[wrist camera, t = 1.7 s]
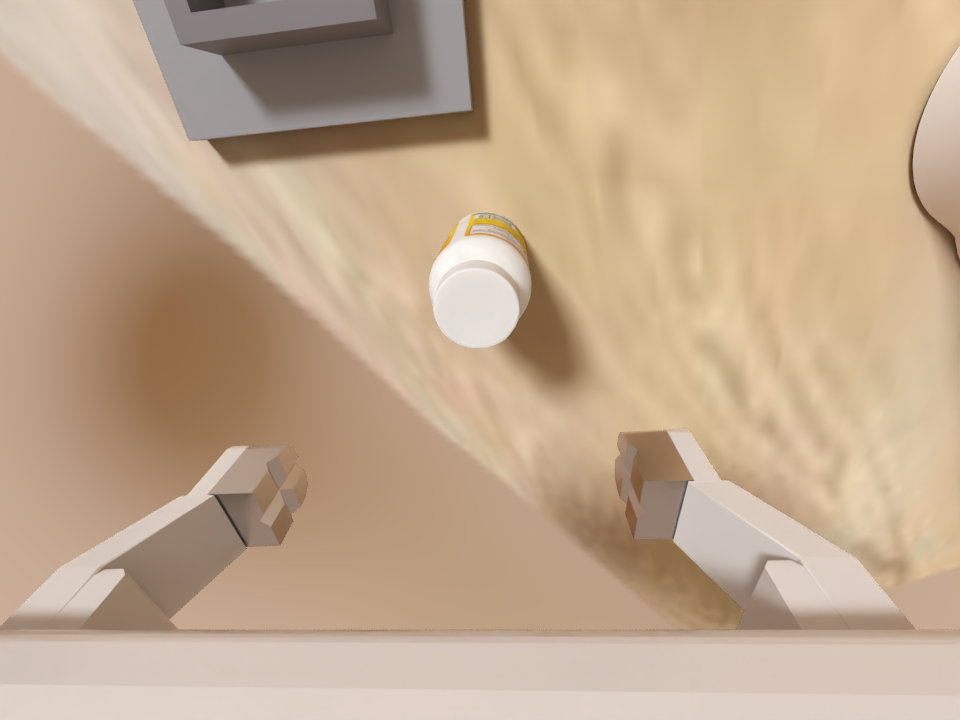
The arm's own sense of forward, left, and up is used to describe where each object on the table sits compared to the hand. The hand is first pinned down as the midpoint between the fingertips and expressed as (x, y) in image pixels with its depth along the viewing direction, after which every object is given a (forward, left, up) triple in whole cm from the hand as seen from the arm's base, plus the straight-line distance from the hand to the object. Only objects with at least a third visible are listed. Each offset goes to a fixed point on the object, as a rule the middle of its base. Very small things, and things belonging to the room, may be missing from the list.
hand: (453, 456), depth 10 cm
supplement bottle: (0, 0, -19) cm, 19 cm away
